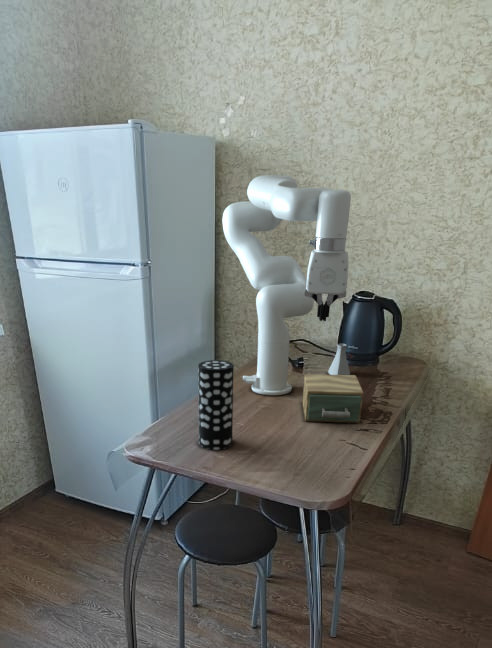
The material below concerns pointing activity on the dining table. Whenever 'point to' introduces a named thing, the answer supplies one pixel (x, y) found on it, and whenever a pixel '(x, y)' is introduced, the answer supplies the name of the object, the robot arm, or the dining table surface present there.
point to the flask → (340, 362)
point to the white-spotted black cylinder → (215, 404)
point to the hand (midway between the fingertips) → (322, 319)
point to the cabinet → (330, 389)
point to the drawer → (334, 407)
